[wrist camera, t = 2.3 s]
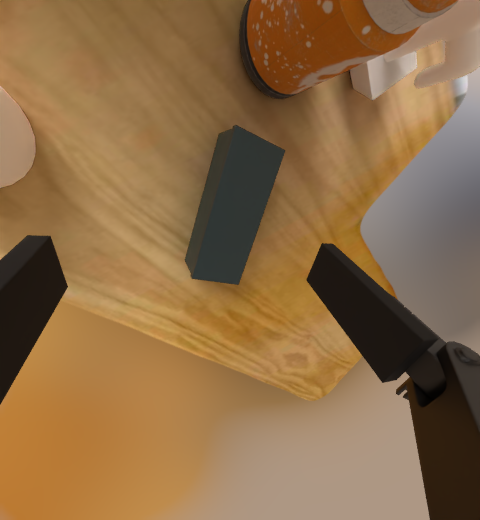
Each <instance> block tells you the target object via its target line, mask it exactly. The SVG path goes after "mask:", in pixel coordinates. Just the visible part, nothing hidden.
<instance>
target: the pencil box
mask: <svg viewBox="0 0 480 520" xmlns="http://www.w3.org/2000/svg"><path fill="white" fill-rule="evenodd" d="M284 153H285V150H283V149H281V148H280V147H278V146H276V145H274V144H272V143H270V142H268V141H266V140H264V139H262V138H260V137H258V136H256V135H254V134H252V133H250V132H248V131H246V130H245V129H243V128H241V127H239V126H237V125H235V126H233V128H232V129H230V130H227V131H225V132H222V133H220V134H219V136H218V139H217V143H216V147H215V150H214V154H213V158H212V162H211V165H210V169H209V173H208V176H207V180H206V184H205V187H204V191H203V195H202V199H201V202H200V206H199V210H198V213H197V217H196V221H195V224H194V228H193V232H192V236H191V239H190V243H189V247H188V250H187V254H186V258H185V262H186V264H187V266H188V268H189V270H190V272H191V278H192V279H198V280H206V281H214V282H221V283H229V284H237V285H239V282H240V279H241V276H242V273H243V271H244V268H245V265H246V262H247V259H248V256H249V253H250V251H251V248H252V245H253V242H254V239H255V236H256V233H257V230H258V228H259V225H260V222H261V219H262V216H263V213H264V210H265V207H266V205H267V202H268V199H269V196H270V193H271V190H272V187H273V184H274V182H275V179H276V176H277V173H278V170H279V167H280V164H281V162H282V159H283V156H284Z"/></svg>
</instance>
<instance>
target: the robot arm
mask: <svg viewBox="0 0 480 520" xmlns="http://www.w3.org/2000/svg"><path fill="white" fill-rule="evenodd" d="M307 282H308V283H309V284H310V286H311V287H312V288H313V290H314V291H315V292H316V294H317V295H318V296H319V298H320V299H321V300H322V302H323V303H324V305H325V306H326V307H327V309H328V310H329V311H330V313H331V314H332V315H333V317H334V318H335V319H336V321H337V322H338V323H339V325H340V326H341V327H342V329H343V330H344V331H345V333H346V334H347V335H348V337H349V338H350V340H351V341H352V342H353V344H354V345H355V346H356V348H357V349H358V350H359V352H360V353H361V354H362V356H363V357H364V358H365V359H366V361H367V362H368V364H369V365H370V366H371V368H372V369H373V370H374V372H375V373H376V375H377V376H378V377H379V379H380V380H381V381H382V383H384V382H388V381H393V380H397V379H398V378H399V377H400V376H401V375H402V374H403V373H404V372H406V373H407V374H408V375H409V376H410V377H409V378H408V379H407V380H406V381H405V382H404V383H403V384H402V385H401V386H400V387H399V388H398V389H397V390H396V394H397V395H400V394H401V393H402V392H403V391H404V390H407V393H405V394H404V396H403V398H405V399H407V400H409V403H410V409H411V415H412V420H413V426H414V431H415V437H416V443H417V449H418V454H419V460H420V465H421V471H422V477H423V482H424V488H425V494H426V499H427V505H428V510H429V516H430V520H480V356H479V355H478V354H477V353H476V352H474V351H473V350H471V349H470V348H468V347H466V346H464V345H462V344H460V343H456V342H447V343H446V342H444V341H443V340H442V339H441V338H440V337H439V336H438V335H436V334H435V333H434V332H433V331H432V330H431V329H430V328H429V327H427V326H426V325H425V324H424V323H423V322H422V321H421V320H420V319H418V318H417V317H416V316H415V315H414V314H412V313H411V312H410V311H409V310H408V309H407V308H406V307H404V305H403V304H402V303H400V302H399V301H398V300H397V299H396V298H395V297H393V296H392V295H390V294H389V293H387V292H386V291H385V290H384V289H383V288H382V287H381V286H380V285H378V284H377V283H376V282H375V281H374V280H373V279H372V278H371V277H370V276H368V275H367V274H366V273H365V272H364V271H363V270H362V269H361V268H359V267H358V266H357V265H356V264H355V263H354V262H353V261H352V260H350V259H349V258H348V257H347V256H346V255H345V254H344V253H343V252H342V251H340V250H339V249H338V248H337V247H336V246H335V245H334V244H324V243H322V244H321V247H320V249H319V251H318V254H317V256H316V259H315V261H314V263H313V266H312V268H311V270H310V273H309V275H308V277H307ZM67 287H68V286H67V283H66V280H65V277H64V274H63V271H62V268H61V265H60V262H59V260H58V257H57V254H56V251H55V248H54V245H53V242H52V239H51V236H31V235H27V236H26V237H25V238H24V239H23V240H22V241H21V242H20V243H19V244H18V245H16V246H15V247H14V248H13V249H12V250H11V251H10V252H9V253H8V254H7V255H6V256H4V257H3V258H2V259H1V260H0V404H1V402H2V401H3V399H4V397H5V396H6V394H7V392H8V390H9V389H10V387H11V385H12V383H13V381H14V380H15V378H16V376H17V375H18V373H19V371H20V369H21V367H22V366H23V364H24V362H25V360H26V359H27V357H28V355H29V354H30V352H31V350H32V348H33V347H34V345H35V343H36V341H37V339H38V338H39V336H40V334H41V333H42V331H43V329H44V328H45V326H46V324H47V322H48V320H49V319H50V317H51V315H52V313H53V312H54V310H55V308H56V307H57V305H58V303H59V301H60V300H61V298H62V296H63V294H64V293H65V291H66V289H67Z"/></svg>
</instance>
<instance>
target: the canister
mask: <svg viewBox="0 0 480 520" xmlns="http://www.w3.org/2000/svg"><path fill="white" fill-rule="evenodd" d="M458 1H459V0H248V1H247V3H246V5H245V7H244V11H243V14H242V17H241V23H240V34H239V37H240V49H241V55H242V59H243V63H244V66H245V68H246V71H247V73H248V75H249V76H250V78H251V80H252V81H253V83H254V84H255V85H256V87H257V88H258V89H259V90H260V91H262V92H263V93H264V94H266V95H268V96H270V97H273V98H277V99H284V98H288V97H291V96H293V95H295V94H297V93H299V92H302V91H304V90H306V89H308V88H310V87H313V86H315V85H317V84H319V83H321V82H324V81H326V80H328V79H330V78H332V77H335V76H337V75H339V74H341V73H343V72H346V71H348V70H350V69H352V68H354V67H357V66H359V65H361V64H363V63H365V62H367V61H370V60H372V59H374V58H376V57H378V56H381V55H383V54H385V53H387V52H389V51H392V50H394V49H396V48H398V47H400V46H401V45H403V44H404V43H406V42H407V41H408V40H409V39H410V38H411V37H412V36H413V35H414V34H415V33H416V31H417V30H418V29H419V28H420V26H421V25H423V24H425V23H427V22H428V21H430V20H432V19H434V18H436V17H438V16H440V15H442V14H444V13H445V12H446V11H448V10H449V9H451V8H452V7H453V6H454V5H455V4H456V3H457V2H458Z"/></svg>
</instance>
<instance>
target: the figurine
mask: <svg viewBox="0 0 480 520" xmlns="http://www.w3.org/2000/svg"><path fill="white" fill-rule="evenodd" d="M441 40H443V41H445V61H443V62H441V63H439V64H436V65H433V66H430V67H427V68H425V69H424V70H422V71H421V72H420V73H419V74H418V75H417V76H416V78H415V81H414V85H415V87H416V88H424V87H428V86H432V85H435V84H439V83H443V82H446V81H450V80H453V79H457V78H460V77H462V76H465V75H467V74H469V73H471V72H473V71H475V70H476V69H477V68H479V67H480V0H459V1H458V2H457V3H456V4H455V5H454V6H453V7H452V8H451V9H449V10H448V11H446V12H445V13H444V14H442V15H440V16H438V17H436V18H434V19H432V20H430V21H428V22H427V23H425V24H423V25H421V26H420V28H419V29H418V30H417V31H416V33H415V34H414V35H413V36H412V37H411V38H410V39H409V40H408V41H407V42H406V43H404V44H403V45H401V46H400V47H398V48H396V49H394V50H392V51H389V52H387V53H385V54H383V55H381V56H378V57H376V58H374V59H372V60H370V61H367V62H365V63H363V64H361V65H359V66H357V67H354V68H352V69H350V74H351V80H352V85H353V89H354V90H356V91H357V92H359V93H361V94H362V95H364V96H366V97H368V98H369V99H371V100H374V99H375V98H377V97H378V96H380V95H381V94H382V93H384V92H385V91H386V90H388V89H389V88H390V87H392V86H393V85H394V84H396V83H397V82H398V81H400V80H401V79H403V78H404V77H405V76H407V75H408V74H409V73H411V72H412V71H413V70H415V69H416V68H417V56H416V51H417V50H419V49H421V48H424V47H426V46H429V45H431V44H434V43H436V42H438V41H441Z"/></svg>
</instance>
